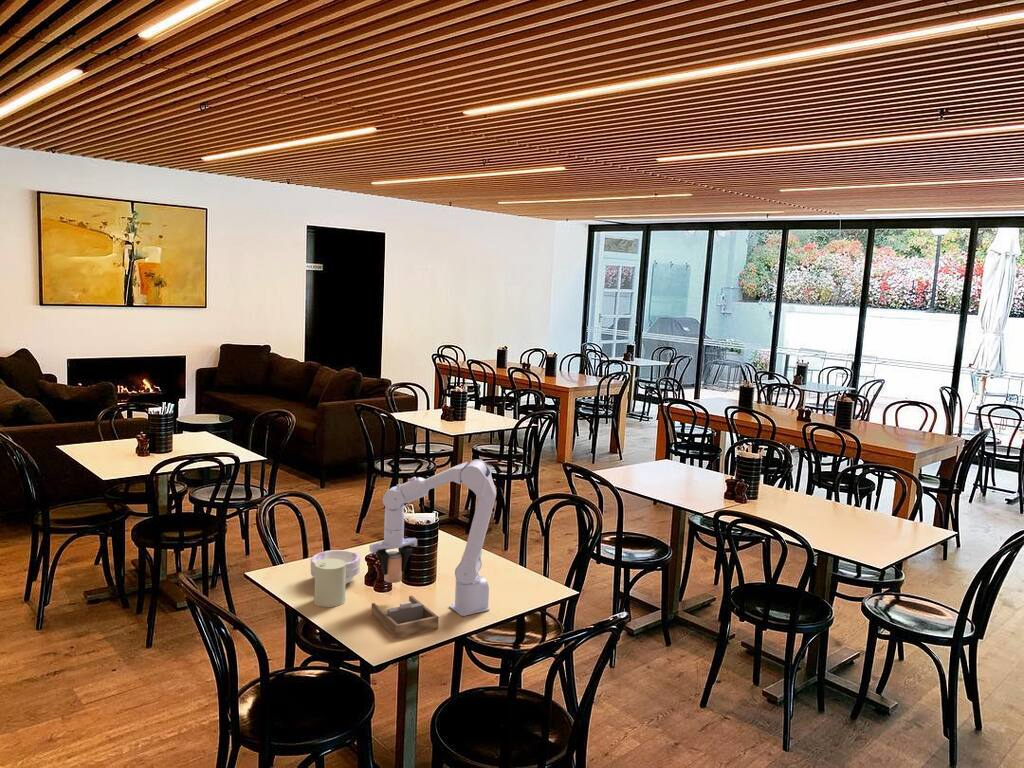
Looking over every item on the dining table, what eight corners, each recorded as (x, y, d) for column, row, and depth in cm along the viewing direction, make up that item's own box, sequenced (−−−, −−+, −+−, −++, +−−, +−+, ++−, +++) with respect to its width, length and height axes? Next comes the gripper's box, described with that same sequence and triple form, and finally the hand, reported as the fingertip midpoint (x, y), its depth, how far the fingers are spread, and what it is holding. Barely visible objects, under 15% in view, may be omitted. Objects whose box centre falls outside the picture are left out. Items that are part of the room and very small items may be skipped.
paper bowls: (311, 573, 260) (311, 549, 259) (359, 571, 263) (359, 548, 262) (309, 591, 245) (309, 566, 244) (359, 589, 248) (360, 564, 247)
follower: (419, 615, 230) (420, 598, 229) (423, 618, 228) (423, 600, 227) (386, 622, 224) (387, 605, 223) (390, 625, 222) (390, 607, 222)
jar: (396, 575, 243) (397, 549, 242) (404, 581, 239) (404, 555, 238) (381, 578, 240) (382, 552, 239) (388, 584, 236) (389, 557, 235)
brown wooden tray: (411, 606, 237) (411, 595, 237) (438, 628, 223) (438, 616, 223) (371, 615, 230) (371, 603, 230) (396, 638, 216) (396, 625, 216)
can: (307, 599, 239) (308, 561, 237) (334, 592, 245) (335, 554, 244) (324, 609, 232) (325, 569, 231) (351, 601, 239) (352, 562, 237)
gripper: (410, 520, 244) (409, 563, 246) (365, 527, 237) (364, 571, 238) (420, 527, 239) (419, 571, 240) (375, 534, 231) (374, 579, 233)
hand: (393, 572), depth 239 cm, fingers closed on jar, 5 cm apart
